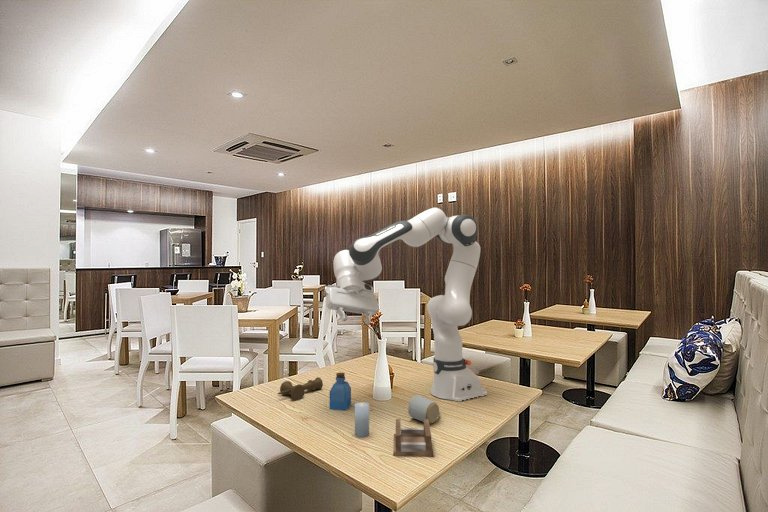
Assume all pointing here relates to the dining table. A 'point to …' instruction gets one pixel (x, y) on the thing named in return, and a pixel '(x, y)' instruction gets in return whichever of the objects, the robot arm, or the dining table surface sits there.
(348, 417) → the dining table surface
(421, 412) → the ceramic mug
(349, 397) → the perfume bottle
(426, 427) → the holder
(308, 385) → the kendama
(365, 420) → the paper roll
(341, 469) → the dining table surface
